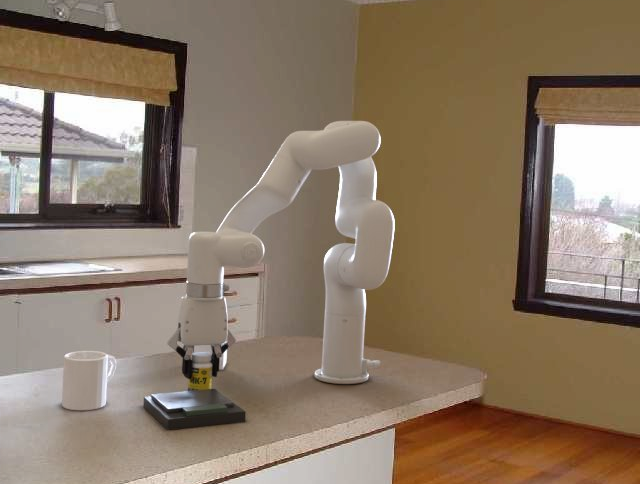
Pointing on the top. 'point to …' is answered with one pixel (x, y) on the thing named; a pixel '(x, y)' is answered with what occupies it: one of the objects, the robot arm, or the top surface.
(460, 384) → the top surface
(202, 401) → the scale pan
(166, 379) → the top surface
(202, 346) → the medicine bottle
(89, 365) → the mug
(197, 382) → the supplement bottle
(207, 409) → the scale
